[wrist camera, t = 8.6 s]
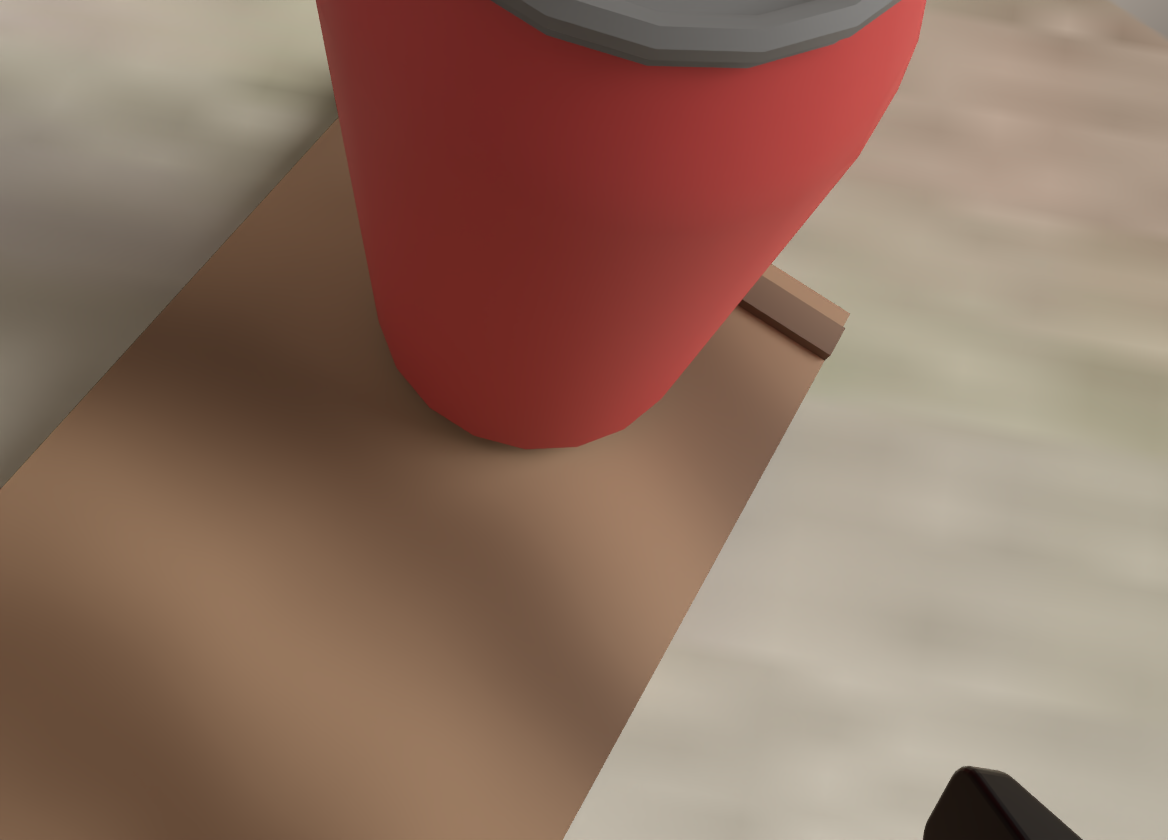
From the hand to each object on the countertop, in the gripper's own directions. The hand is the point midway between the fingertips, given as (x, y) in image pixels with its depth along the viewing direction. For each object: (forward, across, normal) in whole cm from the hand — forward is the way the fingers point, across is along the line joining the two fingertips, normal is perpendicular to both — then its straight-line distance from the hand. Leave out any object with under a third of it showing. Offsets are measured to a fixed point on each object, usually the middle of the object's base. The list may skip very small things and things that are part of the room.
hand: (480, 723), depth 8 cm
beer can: (+12, 0, 0) cm, 12 cm away
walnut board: (+10, +2, +5) cm, 11 cm away
